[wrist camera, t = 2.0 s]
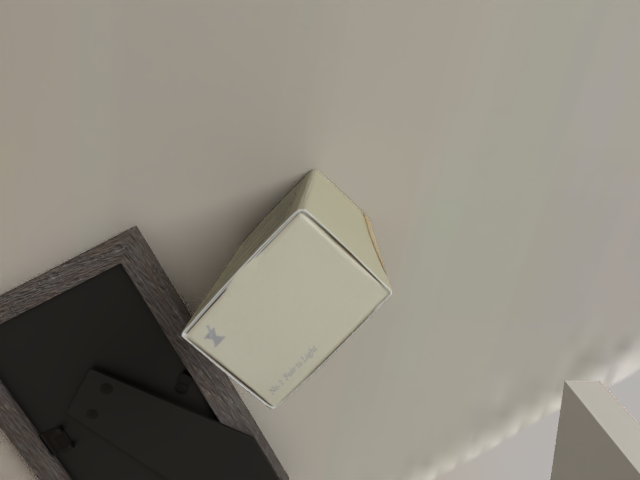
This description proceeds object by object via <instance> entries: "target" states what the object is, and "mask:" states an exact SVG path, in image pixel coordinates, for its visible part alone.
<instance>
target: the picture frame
mask: <svg viewBox="0 0 640 480" xmlns="http://www.w3.org/2000/svg"><path fill="white" fill-rule="evenodd" d="M191 318H192V316H191V315H190V313H189V311H188V310H187V308H186V307H185V305H184V303H183V302H182V300H181V298H180V297H179V295H178V293H177V292H176V290H175V288H174V287H173V285H172V283H171V282H170V280H169V278H168V277H167V275H166V273H165V272H164V270H163V268H162V267H161V265H160V264H159V262H158V260H157V259H156V257H155V255H154V254H153V252H152V250H151V249H150V247H149V245H148V244H147V242H146V240H145V239H144V237H143V235H142V234H141V232H140V230H139V229H138V227H137V226H135V227H133V228H131V229H129V230H127V231H125V232H123V233H121V234H119V235H117V236H115V237H113V238H111V239H109V240H108V241H106V242H104V243H102V244H100V245H98V246H96V247H94V248H92V249H90V250H88V251H86V252H84V253H82V254H80V255H79V256H77V257H75V258H73V259H71V260H69V261H67V262H65V263H63V264H61V265H59V266H57V267H55V268H53V269H51V270H49V271H48V272H46V273H44V274H42V275H40V276H38V277H36V278H34V279H32V280H30V281H28V282H26V283H24V284H22V285H20V286H18V287H17V288H15V289H13V290H11V291H9V292H7V293H5V294H3V295H1V296H0V426H1V428H2V429H3V431H4V432H5V433H6V435H7V436H8V437H9V439H10V440H11V441H12V443H13V444H14V445H15V447H16V448H17V450H18V451H19V452H20V454H21V455H22V456H23V458H24V459H25V460H26V462H27V463H28V465H29V466H30V467H31V469H32V470H33V471H34V473H35V474H36V475H37V477H38V478H39V480H289V477H288V475H287V473H286V472H285V470H284V468H283V467H282V465H281V463H280V462H279V460H278V459H277V457H276V455H275V454H274V452H273V450H272V449H271V447H270V445H269V444H268V442H267V440H266V439H265V437H264V435H263V434H262V432H261V430H260V429H259V427H258V425H257V424H256V422H255V421H254V419H253V417H252V416H251V414H250V412H249V411H248V409H247V407H246V406H245V404H244V402H243V401H242V399H241V397H240V396H239V394H238V392H237V391H236V389H235V387H234V386H233V384H232V383H231V381H230V379H229V378H228V376H227V374H226V373H225V372H223V371H222V370H221V369H220V368H219V367H217V366H216V365H215V364H214V363H213V362H211V361H210V360H209V359H208V358H207V357H206V356H204V355H203V354H202V353H201V352H200V351H198V350H197V349H196V348H195V347H194V346H193V345H192V344H191V343H189V342H188V341H187V340H185V339H184V338H183V337H182V336H181V334H182V331H183V330H184V328H185V327H186V325H187V324H188V322H189V321H190V319H191Z"/></svg>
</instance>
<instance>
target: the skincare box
mask: <svg viewBox="0 0 640 480" xmlns="http://www.w3.org/2000/svg"><path fill="white" fill-rule="evenodd" d="M391 295H392V290H391V287H390V284H389V281H388V278H387V275H386V271H385V268H384V265H383V261H382V258H381V255H380V252H379V249H378V246H377V243H376V239H375V237H374V233H373V230H372V227H371V223H370V220H369V219H368V218H367V217H366V216H365V215H364V214H363V213H362V212H361V211H360V210H359V209H358V208H357V207H356V206H355V205H354V204H353V203H352V202H351V201H350V200H349V199H348V198H347V197H346V196H345V195H344V194H343V193H342V192H341V191H340V190H339V189H338V188H336V187H335V186H334V185H333V184H332V183H331V182H330V181H329V180H328V179H327V178H326V177H325V176H324V175H322V174H321V173H320V172H319V171H318V170H316V169H312V170H311V171H310V172H309V173H308V174H307V175H306V176H305V177H304V178H303V179H302V180H301V181H300V182H299V183H298V184H297V185H296V186H295V187H294V188H293V189H292V190H291V191H290V192H289V193H288V194H287V195H286V196H285V197H284V198H283V199H282V200H281V201H280V202H279V204H278V205H277V206H276V207H275V208H274V209H273V210H272V211H271V212H270V213H269V214H268V215H267V216H266V217H265V218H264V220H263V221H262V222H261V223H260V224H259V225H258V226H257V227H256V228H255V229H254V231H253V232H252V233H251V234H250V235H249V236H248V237H247V238H246V239H245V241H244V242H243V243H242V244H241V245H240V247H239V248H238V250H237V251H236V253H235V254H234V256H233V257H232V259H231V260H230V262H229V263H228V265H227V266H226V267H225V269H224V270H223V272H222V274H221V275H220V277H219V278H218V280H217V281H216V282H215V284H214V285H213V287H212V288H211V290H210V291H209V293H208V294H207V296H206V297H205V299H204V300H203V302H202V303H201V304H200V306H199V307H198V309H197V311H196V312H195V313H194V315H193V316H192V318H191V319H190V321H189V322H188V324H187V325H186V327H185V328H184V330H183V331H182V334H181V336H182V337H183V338H184V339H185V340H187V341H188V342H189V343H191V344H192V345H193V346H194V347H195V348H196V349H197V350H198V351H200V352H201V353H202V354H203V355H204V356H206V357H207V358H208V359H209V360H210V361H211V362H213V363H214V364H215V365H216V366H217V367H219V368H220V369H221V370H222V371H223V372H225V373H226V374H227V375H228V376H230V377H231V378H232V379H233V380H234V381H236V382H237V383H238V384H239V385H240V386H242V387H243V388H244V389H245V390H247V391H248V392H249V393H251V394H252V395H253V396H254V397H256V398H257V399H258V400H260V401H261V402H262V403H264V404H265V405H266V406H267V407H269V408H270V409H275V408H277V407H278V406H279V405H280V404H281V403H283V402H284V401H285V400H286V399H287V398H288V397H289V396H290V395H291V394H293V393H294V392H295V391H296V390H297V389H298V388H299V387H300V386H301V385H302V384H303V383H305V382H306V381H307V380H308V379H309V378H310V377H311V376H312V375H313V374H314V373H315V372H316V371H317V370H318V369H319V368H320V367H321V366H322V365H323V364H324V363H326V362H327V361H328V360H329V359H330V358H331V357H332V355H333V354H334V353H335V352H337V351H338V349H339V348H341V347H342V346H343V345H344V344H345V343H346V342H347V341H348V340H349V339H350V338H351V336H352V335H353V334H354V333H355V332H356V331H358V330H359V329H360V328H361V327H362V325H363V324H364V323H365V322H366V321H367V320H368V319H369V318H370V317H371V316H372V315H373V314H374V313H375V312H376V311H377V310H378V309H379V308H380V307H381V306H382V305H383V304H384V303H385V301H386V300H387V299H389V297H390V296H391Z"/></svg>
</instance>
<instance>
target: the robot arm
mask: <svg viewBox="0 0 640 480" xmlns="http://www.w3.org/2000/svg"><path fill="white" fill-rule="evenodd" d="M551 480H640V424H639V423H638V422H637V421H636V420H635V419H634V417H633V416H632V415H631V414H630V413H629V412H628V411H627V410H626V409H625V408H624V407H623V406H622V405H621V403H620V402H619V401H618V400H617V399H616V398H615V397H614V396H613V395H612V394H611V393H610V392H609V391H608V390H607V388H606V387H605V386H604V385H603V384H602V383H601V382H599V381H565V382H564V389H563V396H562V403H561V410H560V418H559V424H558V431H557V438H556V445H555V452H554V459H553V466H552V473H551Z"/></svg>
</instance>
